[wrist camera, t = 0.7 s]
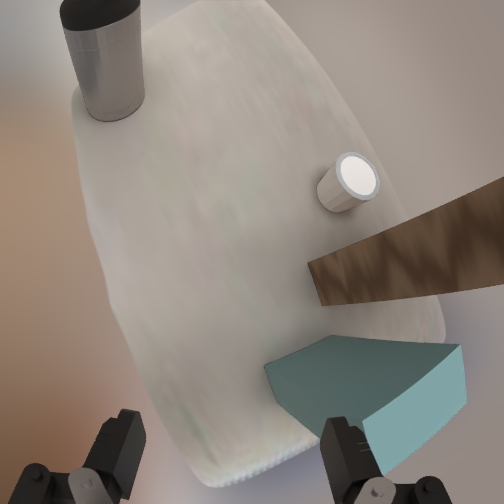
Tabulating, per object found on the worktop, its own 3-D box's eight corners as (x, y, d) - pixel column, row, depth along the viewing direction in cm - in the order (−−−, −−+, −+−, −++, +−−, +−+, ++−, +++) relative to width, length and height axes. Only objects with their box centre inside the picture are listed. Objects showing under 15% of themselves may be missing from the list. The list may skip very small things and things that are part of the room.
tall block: (263, 365, 34) (362, 420, 14) (331, 335, 37) (460, 344, 17) (277, 403, 33) (376, 480, 13) (343, 371, 36) (466, 402, 16)
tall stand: (307, 262, 38) (551, 152, 7) (368, 240, 41) (565, 150, 10) (322, 305, 37) (582, 266, 7) (381, 278, 40) (588, 221, 10)
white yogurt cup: (306, 202, 40) (330, 182, 33) (319, 165, 41) (342, 142, 35) (347, 224, 40) (375, 209, 34) (357, 187, 42) (383, 168, 36)
